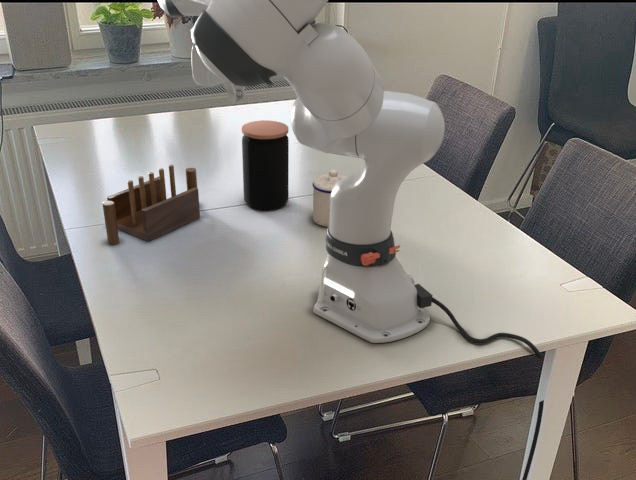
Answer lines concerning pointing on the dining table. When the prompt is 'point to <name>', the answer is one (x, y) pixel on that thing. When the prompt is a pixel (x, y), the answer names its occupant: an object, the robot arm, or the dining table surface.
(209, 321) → the dining table surface
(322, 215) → the teacup with lid
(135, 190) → the plate rack
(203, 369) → the dining table surface
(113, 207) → the marker posts
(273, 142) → the coffee jar
